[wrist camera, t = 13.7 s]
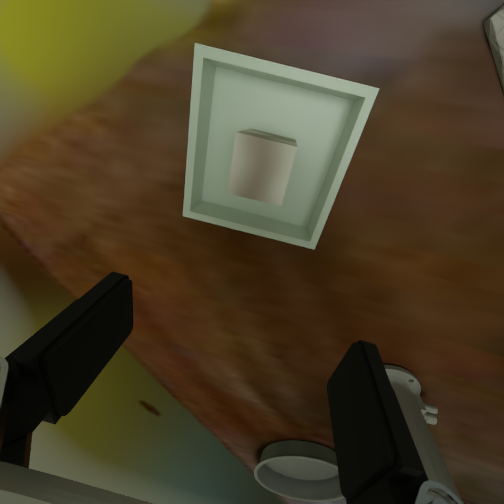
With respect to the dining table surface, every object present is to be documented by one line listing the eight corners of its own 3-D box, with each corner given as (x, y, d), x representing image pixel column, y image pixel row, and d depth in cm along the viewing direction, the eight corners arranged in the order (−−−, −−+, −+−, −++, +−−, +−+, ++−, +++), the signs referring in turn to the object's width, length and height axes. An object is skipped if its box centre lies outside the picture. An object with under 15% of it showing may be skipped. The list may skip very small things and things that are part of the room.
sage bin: (363, 93, 24) (379, 88, 20) (310, 231, 32) (314, 249, 27) (211, 56, 24) (194, 42, 20) (197, 202, 32) (182, 216, 28)
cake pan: (364, 477, 64) (369, 501, 60) (281, 482, 72) (280, 503, 68) (329, 429, 55) (332, 453, 51) (238, 441, 63) (235, 462, 59)
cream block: (295, 139, 26) (297, 146, 19) (283, 184, 28) (281, 206, 21) (250, 128, 26) (236, 132, 19) (242, 174, 28) (226, 193, 21)
